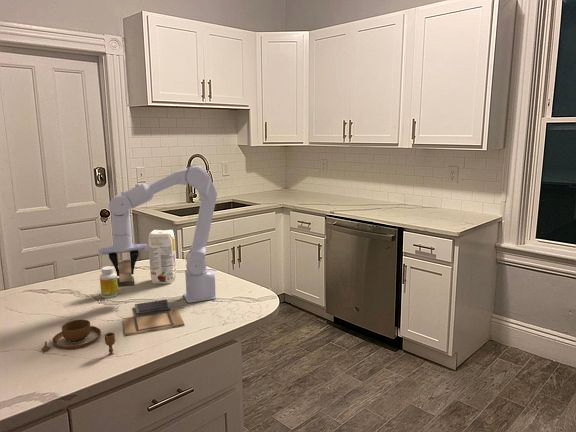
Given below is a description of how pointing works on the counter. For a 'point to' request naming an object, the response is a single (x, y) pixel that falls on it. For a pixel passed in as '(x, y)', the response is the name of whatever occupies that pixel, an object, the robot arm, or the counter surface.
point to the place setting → (80, 335)
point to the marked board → (152, 322)
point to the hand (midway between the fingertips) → (125, 274)
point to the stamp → (125, 274)
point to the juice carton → (162, 256)
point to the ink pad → (152, 307)
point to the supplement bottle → (108, 282)
